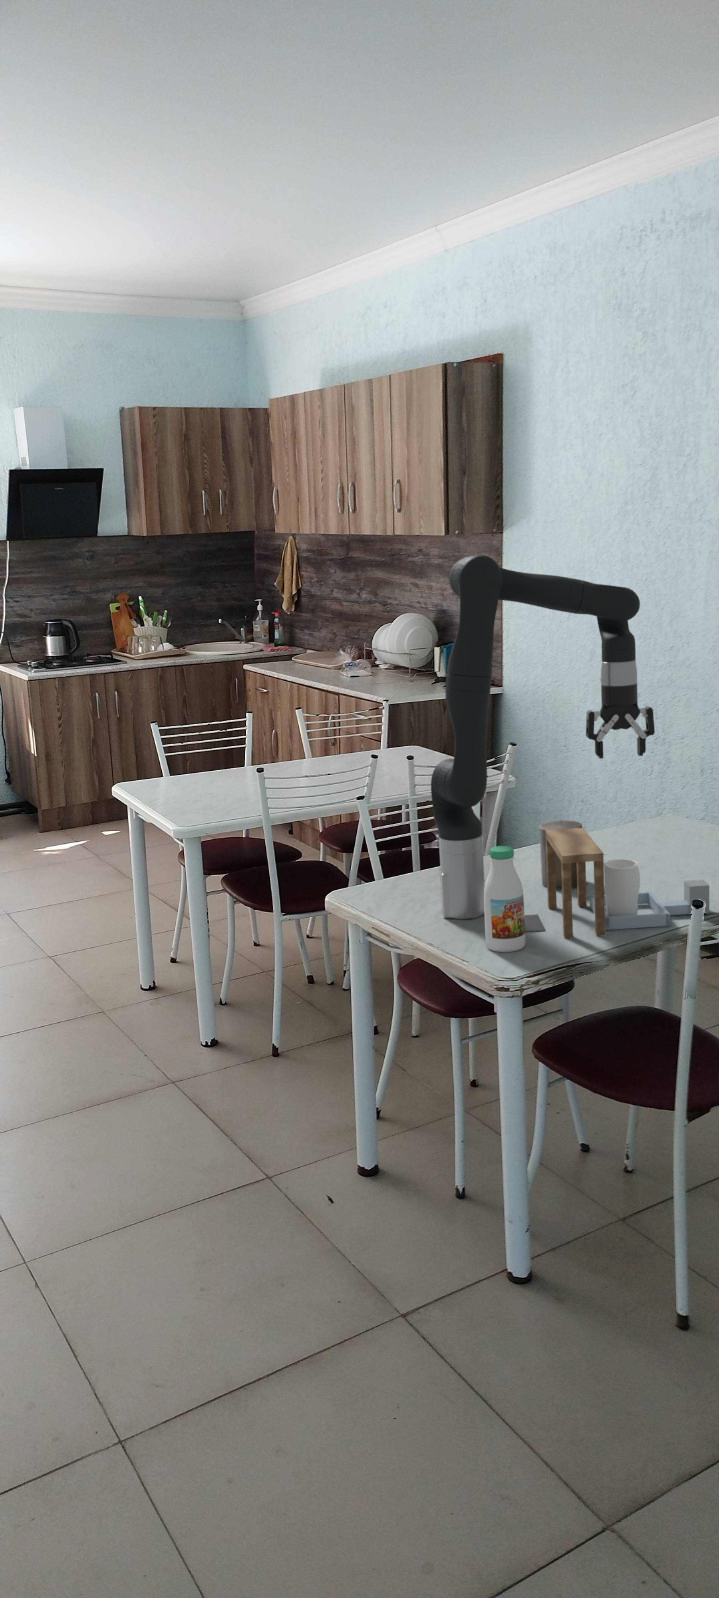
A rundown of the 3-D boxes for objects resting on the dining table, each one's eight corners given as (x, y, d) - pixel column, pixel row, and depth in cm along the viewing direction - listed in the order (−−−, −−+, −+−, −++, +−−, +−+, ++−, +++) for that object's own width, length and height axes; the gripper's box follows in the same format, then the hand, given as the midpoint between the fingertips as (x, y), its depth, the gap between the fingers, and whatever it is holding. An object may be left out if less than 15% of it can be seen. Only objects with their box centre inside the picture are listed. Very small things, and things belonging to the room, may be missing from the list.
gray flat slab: (516, 933, 236) (516, 932, 236) (509, 917, 246) (509, 916, 246) (545, 931, 236) (545, 930, 236) (537, 915, 246) (537, 914, 246)
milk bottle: (479, 950, 228) (474, 851, 224) (497, 937, 234) (492, 841, 230) (514, 955, 224) (510, 855, 220) (532, 942, 230) (528, 844, 226)
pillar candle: (593, 883, 264) (591, 819, 261) (559, 892, 260) (557, 827, 256) (565, 875, 273) (563, 812, 269) (532, 883, 268) (529, 819, 265)
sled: (605, 929, 233) (604, 901, 232) (590, 906, 248) (589, 879, 247) (717, 922, 233) (717, 893, 232) (695, 899, 248) (695, 872, 247)
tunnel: (564, 938, 231) (562, 855, 227) (548, 906, 251) (545, 830, 247) (605, 935, 231) (603, 853, 227) (585, 904, 251) (583, 827, 247)
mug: (626, 927, 235) (625, 870, 232) (598, 921, 240) (597, 865, 237) (653, 913, 242) (653, 858, 239) (625, 908, 246) (624, 853, 244)
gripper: (589, 686, 244) (591, 762, 248) (657, 681, 244) (658, 757, 248) (582, 682, 252) (584, 755, 255) (648, 677, 252) (649, 751, 255)
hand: (620, 756), depth 252 cm, fingers open, 8 cm apart
